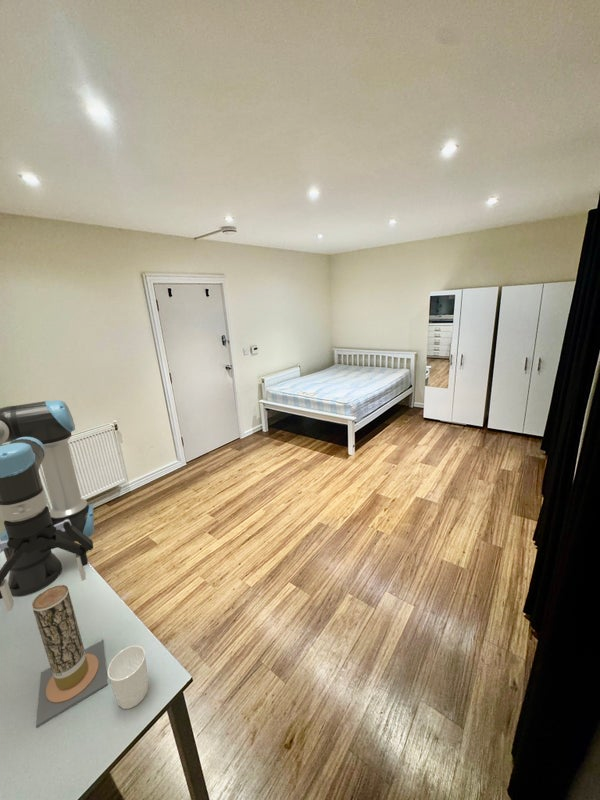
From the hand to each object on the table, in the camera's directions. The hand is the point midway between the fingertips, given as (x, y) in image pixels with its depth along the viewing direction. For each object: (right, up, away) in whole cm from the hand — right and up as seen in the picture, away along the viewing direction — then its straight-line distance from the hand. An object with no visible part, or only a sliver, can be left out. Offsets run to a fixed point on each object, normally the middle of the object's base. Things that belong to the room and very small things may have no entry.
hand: (49, 591), depth 73 cm
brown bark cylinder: (+1, -26, +6) cm, 27 cm away
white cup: (+19, -27, +3) cm, 33 cm away
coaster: (+1, -27, +6) cm, 28 cm away
